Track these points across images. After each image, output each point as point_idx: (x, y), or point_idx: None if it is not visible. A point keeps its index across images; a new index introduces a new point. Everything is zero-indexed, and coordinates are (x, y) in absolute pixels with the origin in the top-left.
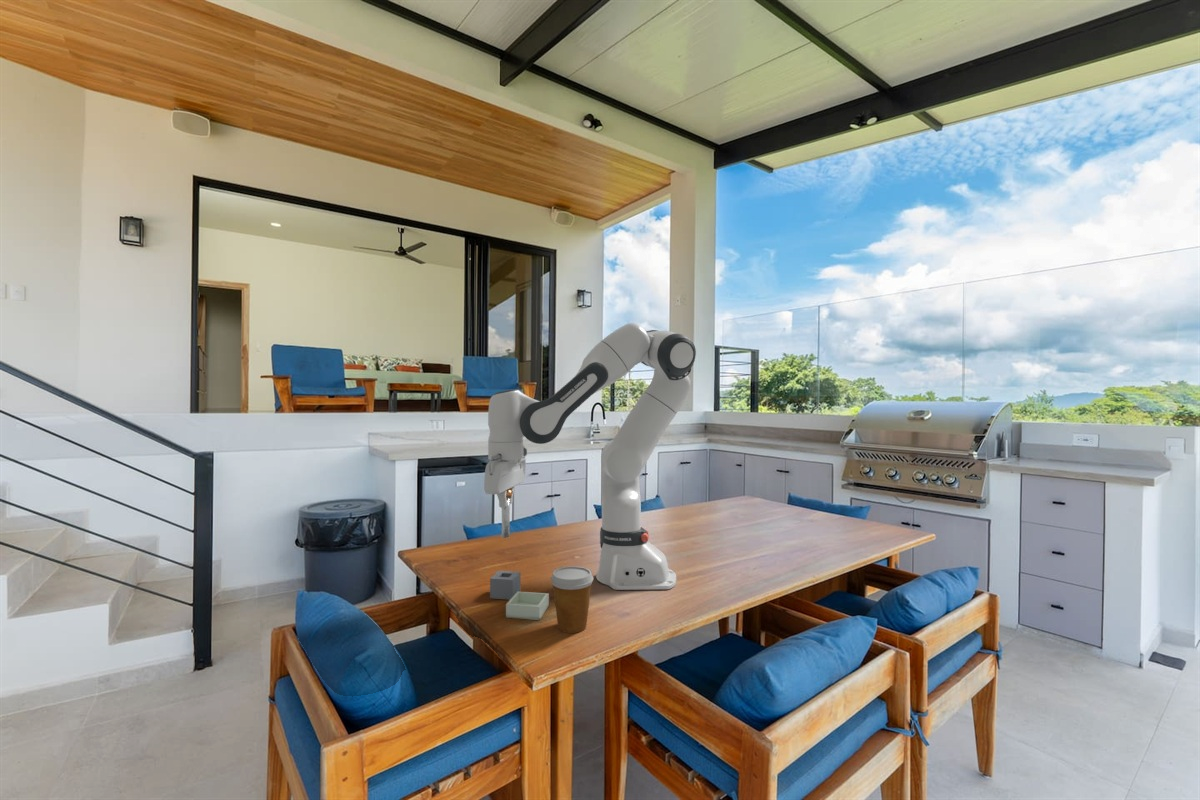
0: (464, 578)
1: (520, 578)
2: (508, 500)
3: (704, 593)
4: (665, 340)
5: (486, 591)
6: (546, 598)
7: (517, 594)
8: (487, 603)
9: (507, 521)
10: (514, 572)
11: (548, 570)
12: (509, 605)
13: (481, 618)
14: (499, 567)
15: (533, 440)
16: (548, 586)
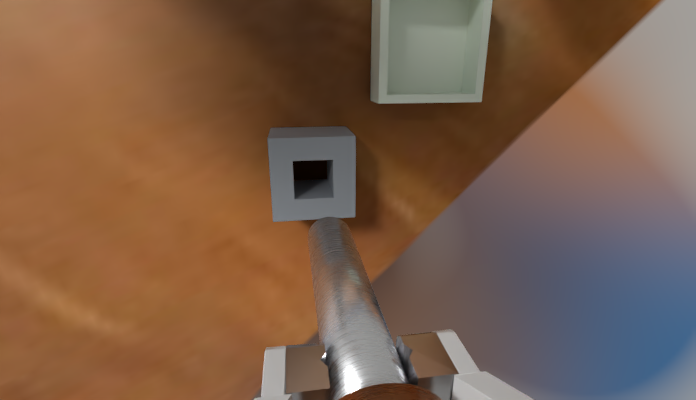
0: (215, 332)
1: (269, 134)
2: (387, 370)
3: None
4: None
5: (298, 228)
6: None
7: (401, 94)
8: (381, 187)
9: (360, 263)
10: (279, 158)
11: (28, 91)
12: (481, 90)
13: (473, 161)
14: (76, 281)
15: None
16: (203, 40)
